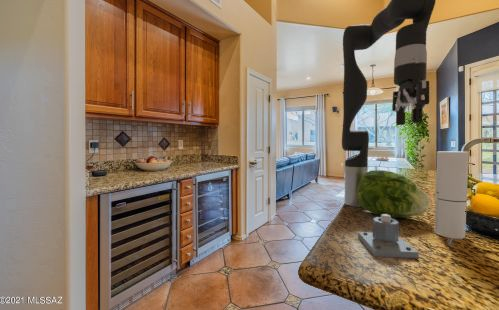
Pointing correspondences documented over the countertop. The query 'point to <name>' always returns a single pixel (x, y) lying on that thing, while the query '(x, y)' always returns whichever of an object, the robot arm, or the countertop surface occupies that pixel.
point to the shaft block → (387, 244)
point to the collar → (385, 230)
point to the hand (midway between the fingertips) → (408, 123)
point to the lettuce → (391, 195)
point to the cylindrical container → (451, 194)
